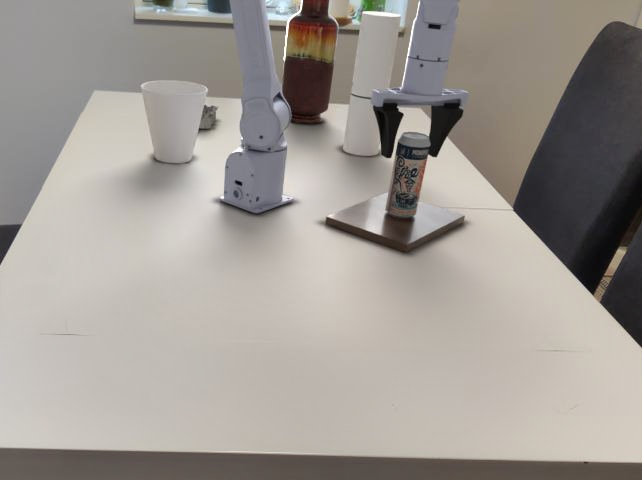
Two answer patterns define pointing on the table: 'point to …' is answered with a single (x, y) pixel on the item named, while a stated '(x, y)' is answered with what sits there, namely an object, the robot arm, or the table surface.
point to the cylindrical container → (370, 79)
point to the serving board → (394, 223)
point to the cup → (173, 117)
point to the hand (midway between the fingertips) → (409, 155)
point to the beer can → (407, 174)
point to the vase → (309, 61)
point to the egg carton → (208, 117)
